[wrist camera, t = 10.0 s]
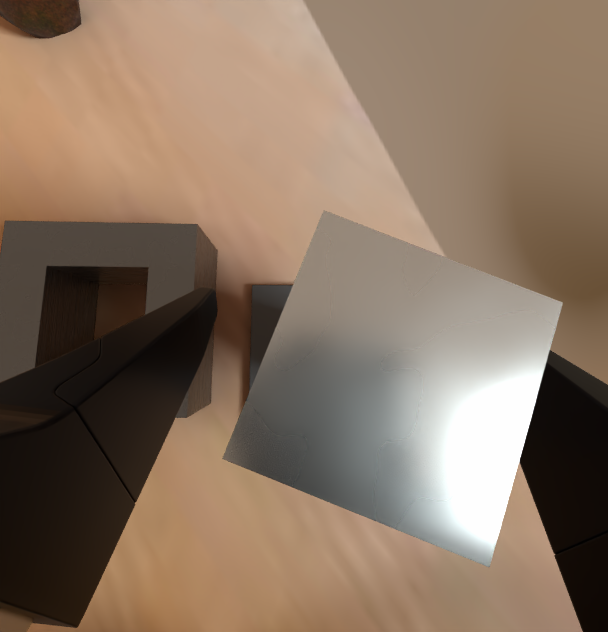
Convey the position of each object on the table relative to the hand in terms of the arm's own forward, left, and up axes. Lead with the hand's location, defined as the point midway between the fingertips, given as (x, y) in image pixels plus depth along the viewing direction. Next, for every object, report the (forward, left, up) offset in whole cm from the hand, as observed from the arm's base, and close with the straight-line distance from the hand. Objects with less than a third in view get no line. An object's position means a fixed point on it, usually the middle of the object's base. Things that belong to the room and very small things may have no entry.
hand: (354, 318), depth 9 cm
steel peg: (-1, 0, -9) cm, 9 cm away
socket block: (+1, +12, -10) cm, 16 cm away
